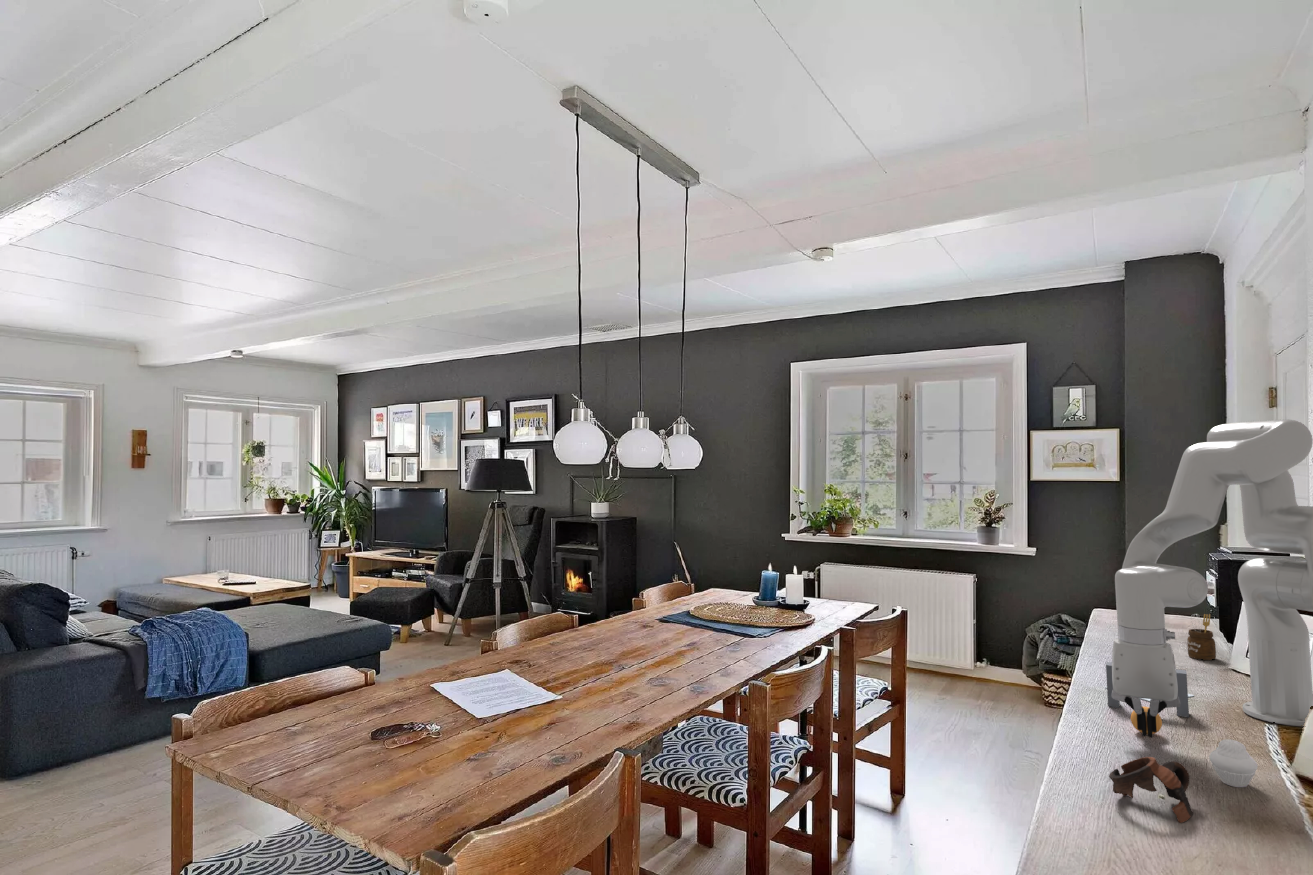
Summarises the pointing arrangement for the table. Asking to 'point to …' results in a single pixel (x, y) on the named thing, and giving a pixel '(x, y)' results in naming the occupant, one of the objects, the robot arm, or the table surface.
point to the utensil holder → (1201, 642)
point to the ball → (1134, 720)
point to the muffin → (1233, 763)
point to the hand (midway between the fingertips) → (1147, 734)
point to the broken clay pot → (1143, 778)
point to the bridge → (1181, 682)
